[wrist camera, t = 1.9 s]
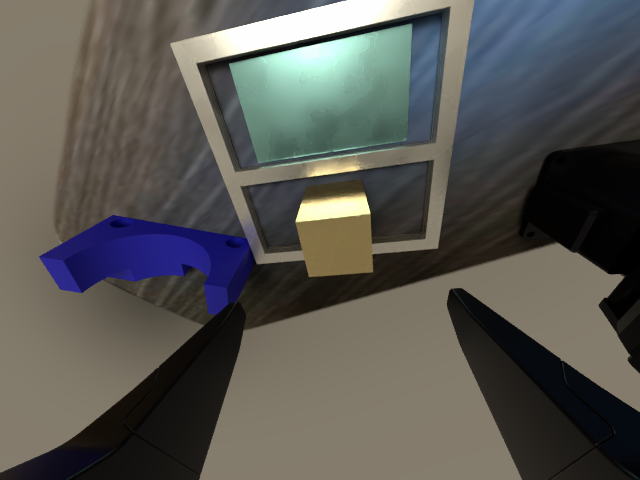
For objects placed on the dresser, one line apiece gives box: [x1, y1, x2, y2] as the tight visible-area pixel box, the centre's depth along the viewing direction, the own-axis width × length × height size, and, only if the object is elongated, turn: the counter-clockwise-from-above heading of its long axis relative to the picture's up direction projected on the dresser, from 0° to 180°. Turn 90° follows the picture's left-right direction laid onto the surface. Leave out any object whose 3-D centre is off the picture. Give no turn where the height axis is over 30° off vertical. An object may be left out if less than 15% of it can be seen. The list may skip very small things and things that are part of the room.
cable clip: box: [40, 215, 253, 315], centre depth 19 cm, size 12×4×6 cm, turn 80°
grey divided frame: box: [170, 0, 474, 264], centre depth 15 cm, size 15×15×1 cm
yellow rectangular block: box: [296, 179, 373, 277], centre depth 15 cm, size 4×4×6 cm
